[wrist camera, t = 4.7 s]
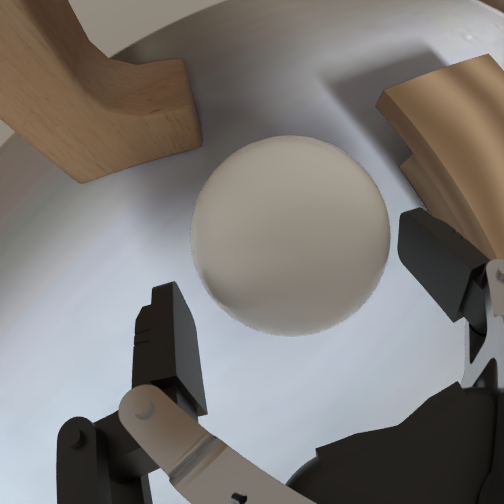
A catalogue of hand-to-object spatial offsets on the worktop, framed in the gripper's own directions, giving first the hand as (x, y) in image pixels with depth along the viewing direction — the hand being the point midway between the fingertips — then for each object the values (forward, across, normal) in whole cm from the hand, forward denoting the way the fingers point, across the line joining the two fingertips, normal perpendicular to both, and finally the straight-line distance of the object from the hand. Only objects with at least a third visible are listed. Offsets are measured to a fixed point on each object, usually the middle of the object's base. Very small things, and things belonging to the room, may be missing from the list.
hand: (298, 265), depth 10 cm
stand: (+6, -16, +4) cm, 18 cm away
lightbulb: (+6, 0, +5) cm, 8 cm away
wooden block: (+14, +6, -3) cm, 15 cm away
